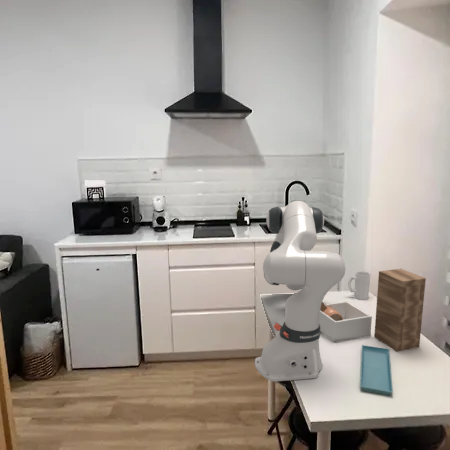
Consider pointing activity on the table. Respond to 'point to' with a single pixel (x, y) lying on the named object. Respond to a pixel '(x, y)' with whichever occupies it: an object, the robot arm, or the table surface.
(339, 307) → the bin
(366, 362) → the teal serving tray
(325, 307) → the pot
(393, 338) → the wooden block
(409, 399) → the table surface
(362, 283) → the mug
